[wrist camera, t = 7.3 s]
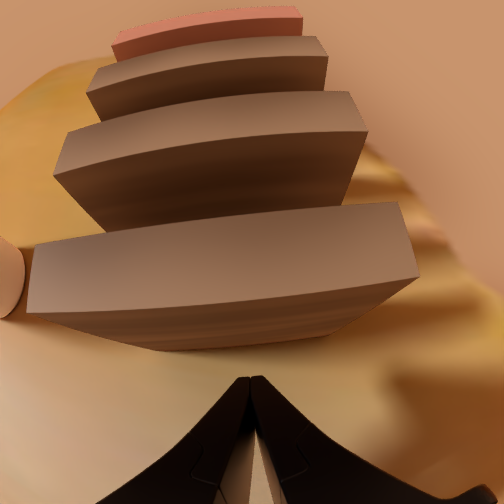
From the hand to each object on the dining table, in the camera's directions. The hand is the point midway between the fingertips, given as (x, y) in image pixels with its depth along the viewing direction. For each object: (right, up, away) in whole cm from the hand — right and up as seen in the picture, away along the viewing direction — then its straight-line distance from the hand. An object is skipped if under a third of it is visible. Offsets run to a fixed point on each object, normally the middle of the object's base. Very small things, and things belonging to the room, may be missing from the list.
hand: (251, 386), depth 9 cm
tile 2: (-1, +4, +9) cm, 10 cm away
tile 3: (-2, +8, +11) cm, 14 cm away
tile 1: (-1, 0, +7) cm, 8 cm away
